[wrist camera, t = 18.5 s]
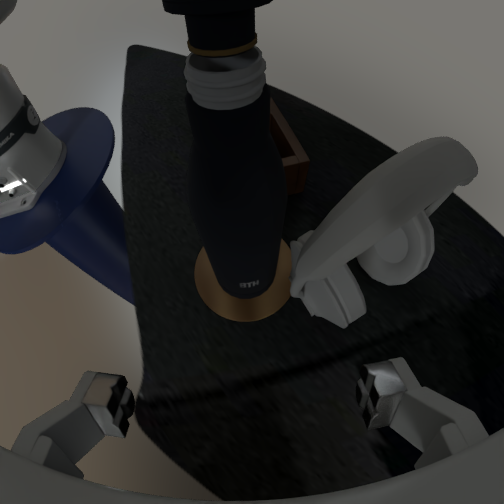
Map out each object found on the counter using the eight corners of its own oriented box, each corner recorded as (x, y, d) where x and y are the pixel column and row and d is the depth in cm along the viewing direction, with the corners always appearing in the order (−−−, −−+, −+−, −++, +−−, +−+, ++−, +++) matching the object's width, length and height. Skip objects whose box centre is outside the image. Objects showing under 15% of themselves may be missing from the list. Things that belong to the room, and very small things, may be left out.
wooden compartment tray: (226, 213, 35) (221, 182, 30) (195, 118, 42) (189, 88, 37) (303, 191, 36) (310, 160, 31) (256, 104, 43) (255, 74, 38)
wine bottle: (245, 232, 34) (224, -77, 6) (288, 269, 32) (357, -67, 4) (203, 270, 32) (82, -43, 4) (245, 312, 30) (184, -73, 3)
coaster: (210, 334, 29) (209, 334, 29) (185, 242, 34) (184, 240, 33) (311, 302, 31) (311, 301, 30) (276, 215, 35) (276, 213, 35)
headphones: (384, 209, 35) (455, 87, 17) (426, 267, 32) (532, 170, 14) (257, 279, 32) (257, 145, 13) (301, 353, 29) (377, 313, 10)
